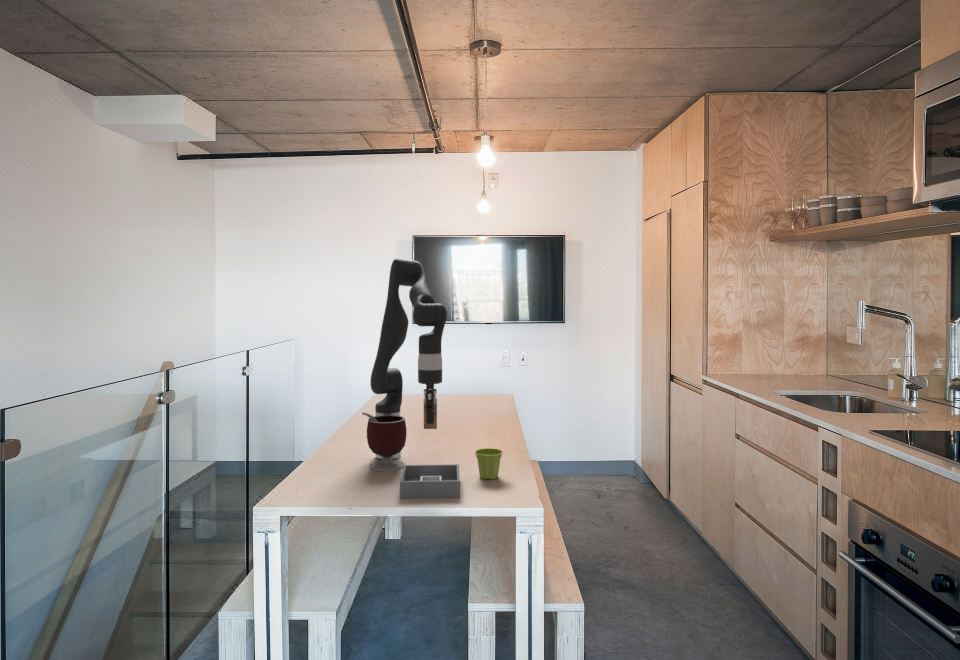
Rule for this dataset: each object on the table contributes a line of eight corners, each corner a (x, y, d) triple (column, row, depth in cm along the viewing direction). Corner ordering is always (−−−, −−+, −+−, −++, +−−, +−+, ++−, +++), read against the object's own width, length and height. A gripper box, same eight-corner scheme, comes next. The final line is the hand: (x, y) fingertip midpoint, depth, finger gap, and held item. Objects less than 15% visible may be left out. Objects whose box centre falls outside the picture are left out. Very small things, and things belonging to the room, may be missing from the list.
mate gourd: (401, 459, 228) (401, 405, 227) (411, 469, 215) (410, 412, 214) (359, 463, 223) (358, 408, 221) (366, 474, 210) (366, 416, 209)
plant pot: (468, 477, 207) (468, 451, 206) (488, 471, 214) (488, 446, 213) (488, 483, 200) (488, 456, 200) (508, 477, 207) (508, 451, 206)
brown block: (424, 426, 196) (424, 398, 195) (436, 426, 196) (436, 397, 195) (423, 429, 192) (423, 400, 191) (436, 428, 192) (436, 400, 191)
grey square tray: (404, 480, 203) (404, 465, 203) (458, 479, 204) (458, 464, 204) (399, 498, 186) (399, 481, 185) (460, 497, 186) (459, 481, 186)
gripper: (441, 370, 186) (442, 427, 187) (442, 364, 200) (442, 417, 201) (416, 370, 185) (417, 427, 186) (419, 365, 199) (419, 417, 201)
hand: (430, 421), depth 194 cm, fingers closed on brown block, 4 cm apart
